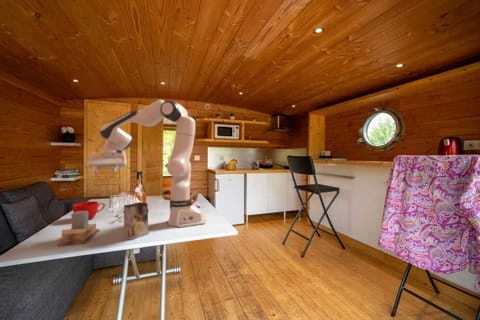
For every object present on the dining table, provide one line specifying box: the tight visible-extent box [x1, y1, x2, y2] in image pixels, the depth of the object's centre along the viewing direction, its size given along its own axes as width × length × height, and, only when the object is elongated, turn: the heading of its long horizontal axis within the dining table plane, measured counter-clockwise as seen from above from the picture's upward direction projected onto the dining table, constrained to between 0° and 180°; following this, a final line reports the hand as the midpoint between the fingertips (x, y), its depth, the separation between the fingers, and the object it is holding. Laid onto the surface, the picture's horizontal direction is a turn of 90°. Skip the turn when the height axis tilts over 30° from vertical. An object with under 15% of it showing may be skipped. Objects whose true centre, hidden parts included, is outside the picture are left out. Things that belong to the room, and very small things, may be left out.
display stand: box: [57, 223, 100, 247], centre depth 103 cm, size 11×16×6 cm
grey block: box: [70, 211, 90, 229], centre depth 102 cm, size 5×5×8 cm
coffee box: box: [123, 201, 149, 241], centre depth 105 cm, size 9×6×16 cm
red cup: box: [72, 200, 106, 221], centre depth 133 cm, size 13×17×10 cm
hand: (104, 172), depth 120 cm, fingers open, 8 cm apart
